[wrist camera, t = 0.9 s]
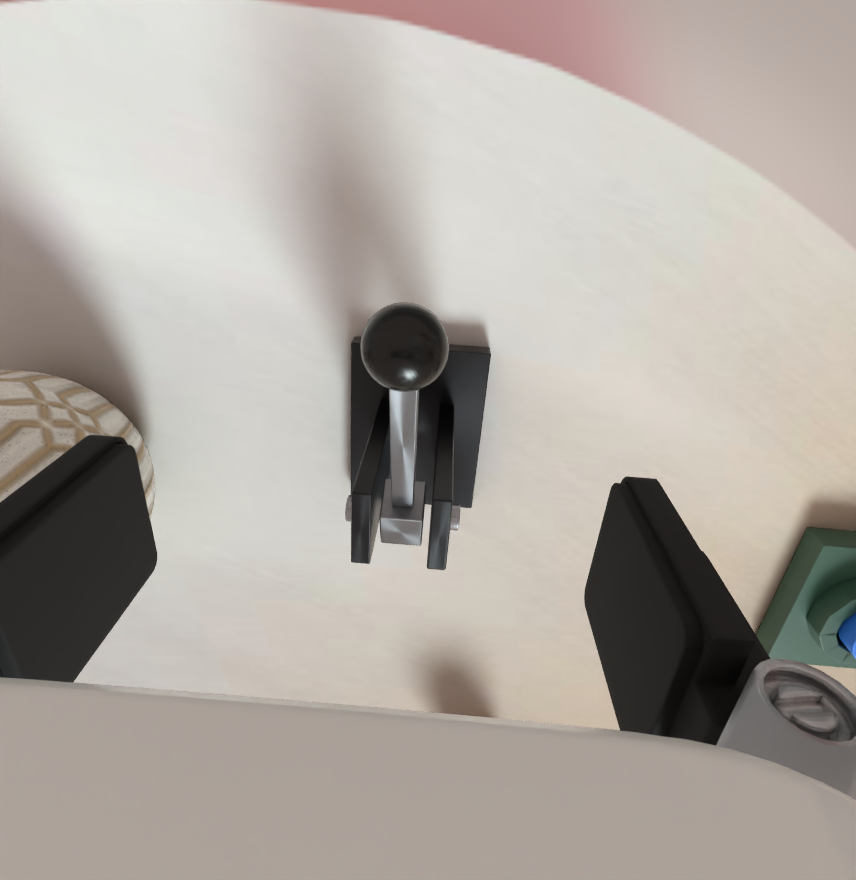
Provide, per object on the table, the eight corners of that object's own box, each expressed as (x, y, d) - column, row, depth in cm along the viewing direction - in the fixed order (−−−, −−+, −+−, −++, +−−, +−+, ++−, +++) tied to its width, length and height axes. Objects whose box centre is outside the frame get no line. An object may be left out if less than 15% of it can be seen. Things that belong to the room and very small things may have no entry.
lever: (364, 280, 20) (351, 341, 18) (454, 287, 20) (449, 349, 18) (378, 498, 32) (370, 549, 30) (433, 502, 32) (429, 554, 30)
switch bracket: (354, 336, 37) (307, 419, 25) (490, 347, 36) (504, 435, 25) (353, 488, 42) (315, 612, 31) (471, 498, 42) (475, 626, 31)
